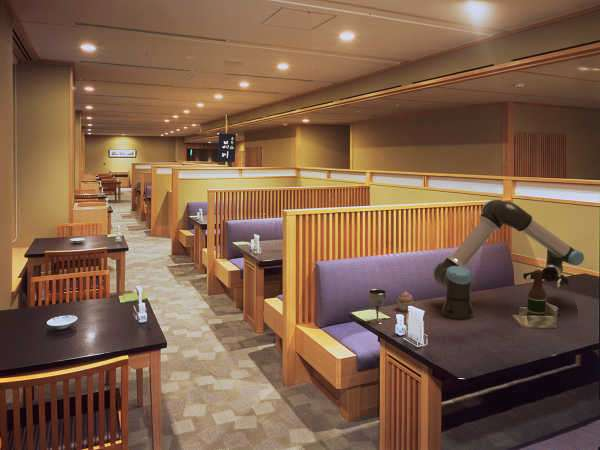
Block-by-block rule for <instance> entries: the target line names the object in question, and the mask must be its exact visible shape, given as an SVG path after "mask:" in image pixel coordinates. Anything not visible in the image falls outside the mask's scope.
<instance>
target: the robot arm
mask: <svg viewBox="0 0 600 450" xmlns="http://www.w3.org/2000/svg"><path fill="white" fill-rule="evenodd" d="M503 226H507V227H510V228H513V229H514V230H516V232H522V233H524V234H525V235H527V236H528V237H529V238H531V239H533V240H534V241H535V242H536V243H538V244H540V245H541V246H542V247H544V248H545V249H546V264H545V267H544V268H543V269H541V271H543V274H542V280H544V281H545V282H548V283H551V282H556V288H560V286H563V285H564V284H565V285H569V282H570V279H568V278H567V277H566V276H564V274H562V273H563V271H564V266H563V263H567V264H569V265H572V266H579V265H581V264H582V263H583V262H584V260H585V254H584V253H583V251H580V250H578V249H575V248H573V247H572V246H570V245H569V244H568V243H566V242H565V241H564V240H562V239H560V237H558V236H556V235H555V233H553V232H551V231H550V230H549V229H547V228H545V227H544V226H542V225H541V224H540V223H538V222H537V221H536V220H534V219H533V216H532V215H531V214H530V213H528V212H527V211H526V210H524V209H523V208H522V207H520V206H519V205H517V204H515V203H514V202H510V201H504V200H502V199H490V200H489V201H487V202H485V204H484V205H483V206H482V210H481V214H480V216H479V221H478V223H477V224H476V225H475V226H474V228H473V229H472V230H471V232H470V233H469V234H468V235H467V237H466V238H465V239H464V241H463V242H462V243H461V244H460V245H459V247H458V248H457V249H456V250H455V252H454V253H453V254H452V255H451V256H447V257H446V258H445V259H444V260H443V261H441V262H439V263H437V264H436V265H435V266H434V268H433V271H432V276H433V280H434V281H436V283H437V284H438V285H439V286H441V287H443V288H445V299H444V303H443V305H442V308H441V315H442V316H444V317H446V318H449V319H453V320H469V319H470V320H471V319H473V317H474V307H473V305H472V302H471V301H472V300H471V289H472V273H471V271H470V270H469V269H468V268H466V266H467V265H468V264H469V263H470V261H471V260H472V259H473V258H474V256H475V255H476V254H477V253H478V252H479V250H480V249H481V248H482V246H483V245H484V244H486V242H487V240H488V239H489V238H491V236H492V235H493V233H494V232H495V231H499V230H501V228H502V227H503ZM534 275H535V273H534V271H530V272H524V273H523V276H522V278H523V280H525V283H526V284H528V283H530V281H531V280H534Z"/></svg>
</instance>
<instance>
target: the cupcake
mask: <svg viewBox="0 0 600 450" xmlns="http://www.w3.org/2000/svg"><path fill="white" fill-rule="evenodd" d="M396 303H397V304H398V310H399V311H401V312H404V313H405V312H409V311H408V310H407V309H408V306H409V305H413V306H414V305H415V303H416V302H415V300H414V299H413V295H412V294H410V293H409V292H408V291H406V290H404V292H402V293H401V294H400V295H399V296H398V299H396Z"/></svg>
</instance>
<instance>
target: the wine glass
mask: <svg viewBox="0 0 600 450" xmlns="http://www.w3.org/2000/svg"><path fill="white" fill-rule="evenodd" d="M386 294H387V292H386V290H384V289H379V288H377V289H376V288H374V289H370V290H368V297H369V302H370V304H371V305H372V306H373V307H374V309H375V313H376V318H372V319H370V320H369V322H370V323H371V324H374V325H382V324H384V323H385V322H386V321H385V320H384V319H382V318H379V311H380V309H381V308H382V306H383V305H385V302H386V299H387V298H386V297H387V295H386Z"/></svg>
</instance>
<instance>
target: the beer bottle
mask: <svg viewBox="0 0 600 450" xmlns="http://www.w3.org/2000/svg"><path fill="white" fill-rule="evenodd" d="M533 272H534V273H535V275H534V279H533V284H532V287H531V288H530V290H529V292H528V296H527V307H528V310H527V319H528V316H545V309H546V302H547V293H546V290H545V289H544V287H543V279H542V274H543V271H542V269H541V270H540V269H534V271H533Z"/></svg>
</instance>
